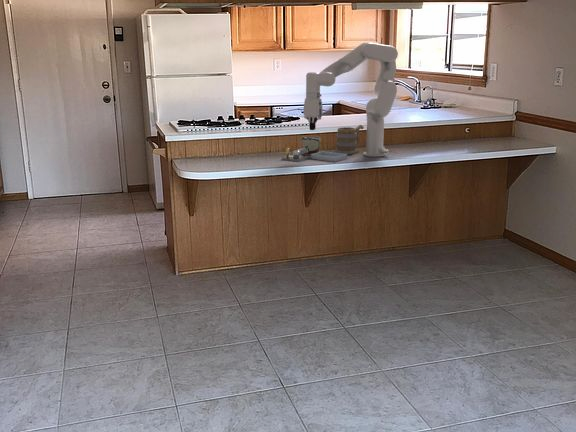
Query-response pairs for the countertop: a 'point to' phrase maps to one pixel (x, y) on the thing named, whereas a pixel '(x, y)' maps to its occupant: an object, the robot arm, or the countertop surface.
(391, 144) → the countertop surface
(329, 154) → the tray
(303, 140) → the food container
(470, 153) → the countertop surface
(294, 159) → the crank base
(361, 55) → the robot arm
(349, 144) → the tankard
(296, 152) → the crank lever
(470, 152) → the countertop surface
